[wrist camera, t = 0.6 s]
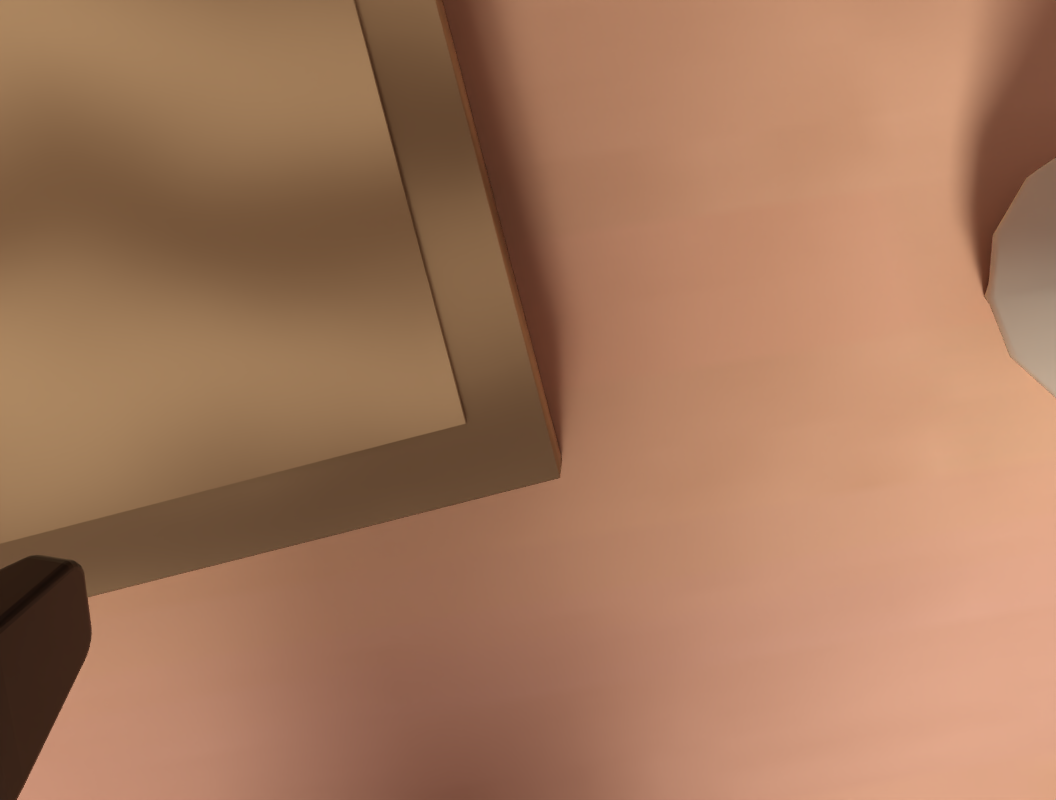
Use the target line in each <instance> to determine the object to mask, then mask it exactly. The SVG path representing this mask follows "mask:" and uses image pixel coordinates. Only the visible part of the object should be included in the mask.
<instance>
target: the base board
mask: <svg viewBox="0 0 1056 800" xmlns="http://www.w3.org/2000/svg"><path fill="white" fill-rule="evenodd" d="M561 463H562V458H561V454H560V450H559V447H558V443H557V439H556V435H555V431H554V427H553V423H552V420H551V416H550V412H549V408H548V404H547V400H546V397H545V393H544V389H543V385H542V381H541V377H540V374H539V370H538V366H537V362H536V358H535V354H534V351H533V347H532V343H531V339H530V335H529V331H528V328H527V324H526V320H525V316H524V312H523V308H522V305H521V301H520V297H519V293H518V289H517V285H516V281H515V278H514V274H513V270H512V266H511V262H510V258H509V255H508V251H507V247H506V243H505V239H504V235H503V232H502V228H501V224H500V220H499V216H498V212H497V209H496V205H495V201H494V197H493V193H492V189H491V186H490V182H489V178H488V174H487V170H486V166H485V163H484V159H483V155H482V151H481V147H480V143H479V139H478V136H477V132H476V128H475V124H474V120H473V116H472V113H471V109H470V105H469V101H468V97H467V93H466V90H465V86H464V82H463V78H462V74H461V70H460V67H459V63H458V59H457V55H456V51H455V47H454V44H453V40H452V36H451V32H450V28H449V24H448V21H447V17H446V13H445V9H444V5H443V1H442V0H0V569H2V568H4V567H6V566H8V565H10V564H12V563H14V562H17V561H19V560H21V559H23V558H25V557H28V556H31V555H46V556H52V557H58V558H65V559H71V560H74V561H76V562H78V563H79V564H80V565H81V567H82V568H83V570H84V575H85V581H86V589H87V597H91V596H95V595H99V594H103V593H107V592H111V591H115V590H119V589H123V588H127V587H131V586H135V585H139V584H142V583H146V582H150V581H154V580H158V579H162V578H166V577H170V576H174V575H178V574H182V573H186V572H190V571H194V570H198V569H202V568H206V567H210V566H214V565H218V564H222V563H226V562H229V561H233V560H237V559H241V558H245V557H249V556H253V555H257V554H261V553H265V552H269V551H273V550H277V549H281V548H285V547H289V546H293V545H297V544H301V543H305V542H309V541H312V540H316V539H320V538H324V537H328V536H332V535H336V534H340V533H344V532H348V531H352V530H356V529H360V528H364V527H368V526H372V525H376V524H380V523H384V522H388V521H392V520H395V519H399V518H403V517H407V516H411V515H415V514H419V513H423V512H427V511H431V510H435V509H439V508H443V507H447V506H451V505H455V504H459V503H463V502H467V501H471V500H475V499H478V498H482V497H486V496H490V495H494V494H498V493H502V492H506V491H510V490H514V489H518V488H522V487H526V486H530V485H534V484H538V483H542V482H546V481H550V480H554V479H558V478H560V473H561Z"/></svg>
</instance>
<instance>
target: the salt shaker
mask: <svg viewBox="0 0 1056 800" xmlns="http://www.w3.org/2000/svg"><path fill="white" fill-rule="evenodd" d="M984 297H985V299H986V300H987V301H988V303H989V304H990V307H991V309H992V312H993V314H994V317H995V319H996V322H997V324H998V327H999V329H1000V332H1001V335H1002V337H1003V340H1004V342H1005V345H1006V347H1007V350H1008V352H1009V355H1010V357H1011V358H1012V359H1013V360H1014V361H1015V362H1016V363H1018V364H1019V365H1020V366H1021V367H1022V368H1023V369H1024V370H1025V371H1026V372H1028V373H1029V374H1030V375H1031V376H1032V377H1033V378H1034V379H1035V380H1036V381H1037V382H1039V383H1040V384H1041V385H1042V386H1043V387H1044V388H1045V389H1046V390H1047V391H1049V392H1050V393H1051V394H1052V395H1053V396H1054V397H1055V398H1056V157H1055V158H1054V159H1052V160H1051V161H1050V162H1048V163H1047V164H1045V165H1044V166H1042V167H1041V168H1039V169H1038V170H1036V171H1035V172H1034V173H1032V174H1031V175H1030V176H1028V177H1027V178H1026V179H1025V181H1024V182H1023V184H1022V186H1021V188H1020V189H1019V191H1018V193H1017V194H1016V196H1015V198H1014V200H1013V201H1012V203H1011V205H1010V206H1009V208H1008V210H1007V212H1006V213H1005V215H1004V217H1003V218H1002V220H1001V222H1000V224H999V225H998V227H997V229H996V230H995V232H994V234H993V239H992V250H991V262H990V274H989V283H988V287H987V290H986V293H985V296H984Z"/></svg>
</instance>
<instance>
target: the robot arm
mask: <svg viewBox="0 0 1056 800" xmlns="http://www.w3.org/2000/svg"><path fill="white" fill-rule="evenodd" d="M91 634H92V632H91V621H90V613H89V605H88V597H87V589H86V581H85V575H84V570H83V568H82V567H81V565H80V564H79V563H78V562H76V561H74V560H71V559H65V558H58V557H52V556H46V555H31V556H28V557H25V558H23V559H21V560H19V561H17V562H14V563H12V564H10V565H8V566H6V567H4V568H2V569H0V800H17V798H18V796H19V794H20V793H21V791H22V789H23V787H24V785H25V783H26V781H27V779H28V776H29V774H30V772H31V770H32V768H33V766H34V764H35V762H36V760H37V758H38V756H39V754H40V752H41V750H42V748H43V745H44V743H45V741H46V739H47V737H48V735H49V733H50V731H51V729H52V727H53V725H54V723H55V721H56V719H57V717H58V714H59V712H60V710H61V708H62V706H63V704H64V702H65V700H66V698H67V696H68V694H69V692H70V690H71V688H72V686H73V683H74V681H75V679H76V677H77V675H78V673H79V671H80V669H81V667H82V665H83V663H84V661H85V658H86V656H87V653H88V650H89V647H90V642H91Z"/></svg>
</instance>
